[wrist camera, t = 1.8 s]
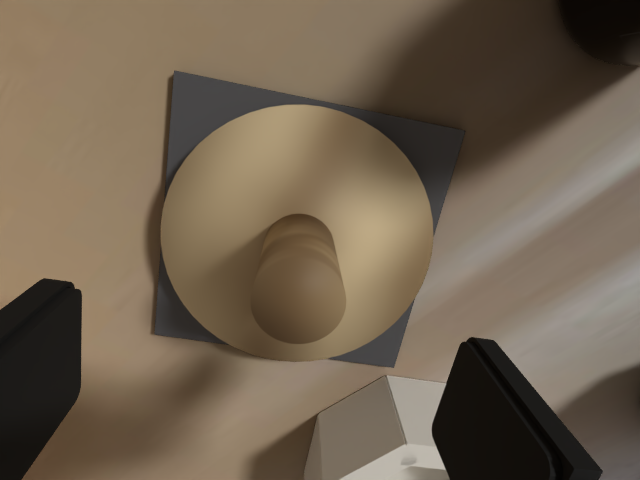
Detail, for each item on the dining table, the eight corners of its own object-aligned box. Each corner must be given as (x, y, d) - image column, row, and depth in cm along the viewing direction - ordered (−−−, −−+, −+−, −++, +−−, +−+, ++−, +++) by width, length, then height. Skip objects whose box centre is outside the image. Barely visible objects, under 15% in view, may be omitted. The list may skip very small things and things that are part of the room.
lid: (459, 134, 17) (536, 154, 12) (390, 363, 21) (424, 463, 15) (179, 77, 16) (113, 67, 10) (158, 331, 20) (102, 425, 14)
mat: (461, 129, 18) (465, 131, 17) (392, 362, 21) (393, 367, 21) (177, 71, 16) (174, 70, 16) (157, 329, 20) (154, 334, 20)
